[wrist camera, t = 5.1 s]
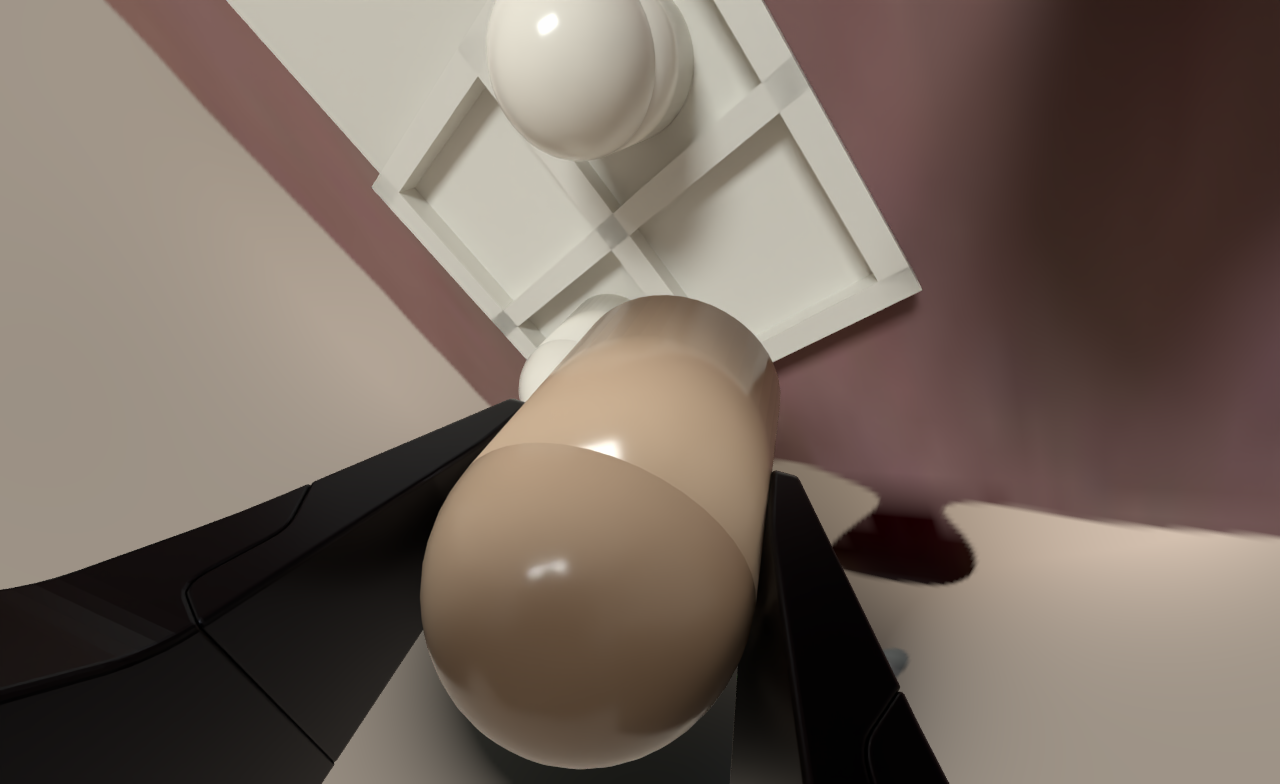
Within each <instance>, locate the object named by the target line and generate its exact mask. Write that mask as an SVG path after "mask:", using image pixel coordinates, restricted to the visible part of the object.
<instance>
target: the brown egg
mask: <svg viewBox="0 0 1280 784" xmlns="http://www.w3.org/2000/svg"><path fill="white" fill-rule="evenodd" d="M779 409H780V386H779V379H778V376H777V373H776V369H775V366H774V364H773V362H772V360H771V358H770V356H769V354H768V352H767V351H766V349H765V348H764V347H763V345H762V344H761V342H760V341H759V340H758V339H757V338H756V336H755V335H754V334H753V333H752V332H751V331H750V330H749V329H748V328H747V327H745V326H744V325H743V324H742V323H741V322H740V321H738V320H737V319H735V318H734V317H732V316H731V315H729V314H728V313H726V312H724V311H722V310H721V309H719V308H717V307H715V306H713V305H710V304H707V303H704V302H702V301H699V300H695V299H691V298H687V297H682V296H672V295H652V296H646V297H640V298H636V299H633V300H630V301H627V302H624V303H622V304H620V305H618V306H616V307H614V308H613V309H611V310H610V311H608V312H607V313H605V314H604V315H603V316H602V317H601V318H600V319H599V320H598V321H597V322H596V323H595V324H594V325H593V326H592V327H591V328H590V329H589V331H588V332H587V333H586V334H585V335H584V336H583V337H582V339H581V340H580V341H579V342H578V343H577V344H576V345H575V346H574V348H573V349H572V350H571V351H570V352H569V353H568V354H567V356H566V357H565V358H564V359H563V360H562V361H561V362H560V364H559V365H558V366H557V367H556V368H555V369H554V370H553V371H552V373H551V374H550V375H549V376H548V377H547V378H546V379H545V381H544V382H543V383H542V384H541V385H540V386H539V387H538V388H537V390H536V391H535V392H534V393H533V394H532V395H531V396H530V398H529V399H528V400H527V401H526V402H525V403H524V404H523V406H522V407H521V408H520V409H519V410H518V411H517V412H516V413H515V415H514V416H513V417H512V418H511V419H510V420H509V421H508V423H507V424H506V425H505V426H504V427H503V428H502V429H501V430H500V432H499V433H498V434H497V435H496V436H495V437H494V438H493V440H492V441H491V442H490V443H489V444H488V445H487V446H486V448H485V449H484V450H483V451H482V452H481V453H480V454H479V455H478V457H477V458H476V459H475V460H474V461H473V462H472V463H471V465H470V466H469V467H468V468H467V469H466V471H465V472H464V473H463V475H462V476H461V477H460V479H459V480H458V481H457V483H456V484H455V485H454V487H453V488H452V490H451V491H450V492H449V494H448V496H447V498H446V500H445V502H444V503H443V505H442V507H441V509H440V511H439V513H438V516H437V518H436V521H435V523H434V526H433V529H432V531H431V534H430V537H429V539H428V542H427V547H426V551H425V556H424V560H423V565H422V576H421V589H420V604H421V618H422V625H423V630H424V635H425V639H426V644H427V648H428V652H429V654H430V657H431V659H432V662H433V664H434V667H435V669H436V671H437V674H438V677H439V679H440V681H441V683H442V684H443V686H444V687H445V689H446V690H447V692H448V694H449V695H450V697H451V699H452V700H453V702H454V704H455V705H456V706H457V707H458V709H459V710H460V711H461V712H462V713H463V714H464V715H465V716H466V717H467V718H468V719H469V721H470V722H471V723H472V724H473V725H474V726H475V727H476V728H477V729H478V730H479V731H480V732H482V733H483V734H484V735H485V736H487V737H488V738H489V739H491V740H493V741H494V742H495V743H497V744H498V745H500V746H502V747H504V748H505V749H507V750H509V751H511V752H513V753H515V754H517V755H519V756H521V757H524V758H526V759H528V760H531V761H534V762H537V763H540V764H544V765H549V766H556V767H563V768H571V769H588V768H602V767H611V766H614V765H618V764H621V763H625V762H629V761H633V760H636V759H639V758H641V757H644V756H646V755H648V754H650V753H652V752H654V751H656V750H658V749H661V748H662V747H664V746H666V745H667V744H669V743H670V742H672V741H673V740H675V739H676V738H677V737H679V736H680V735H682V734H683V733H684V732H686V731H688V729H690V728H691V726H693V725H694V724H695V723H696V722H697V721H698V720H699V719H700V718H701V717H702V716H703V715H704V714H705V713H706V712H707V711H708V710H709V709H710V708H711V706H712V705H713V704H714V702H715V701H716V700H717V699H718V697H719V696H720V695H721V693H722V692H723V691H724V689H725V688H726V686H727V684H728V682H729V681H730V679H731V677H732V675H733V673H734V671H735V669H736V668H737V666H738V664H739V662H740V660H741V658H742V655H743V652H744V649H745V647H746V644H747V641H748V638H749V635H750V630H751V625H752V620H753V615H754V610H755V605H756V598H757V590H758V582H759V573H760V565H761V557H762V548H763V538H764V529H765V520H766V512H767V504H768V496H769V488H770V480H771V473H772V466H773V458H774V450H775V442H776V434H777V425H778V417H779Z"/></svg>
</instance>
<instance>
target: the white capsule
mask: <svg viewBox="0 0 1280 784" xmlns="http://www.w3.org/2000/svg"><path fill="white" fill-rule="evenodd" d="M627 301H630V299H628V298H626V297H623V296H619V295H615V294H600V295H596V296H593V297H591V298H589V299H587V300H585V301H584V302H583V303H582V304H581V305H580V306H579V307H578V308H577V309H576V310H575V311H574V312H573V313H572V314H571V315H570V316H569V317H568V318H567V319H566V320H565V321H564V322H563V323H562V324H561V325H560V326H559V327H558V328H557V329H556V330H555V331H554V332H553V333H551V334H550V335H549V336H548V337H547V338H546V339H545V340H544V341H543V342H542V343H541V344H540V345H539V346H538V347H537V348H536V349H535V350H534V351H533V353H532V354H531V355H530V356H529V358H528V359H527V361H526V363H525V364H524V367H523V369H522V372H521V376H520V380H519V398H520V401H523V402H526V401H527V400H528V399H529V398H530V396H531V395H532V394H533V393H534V392H535V391H536V390H537V388H538V387H539V386H540V385H541V384H542V383H543V382H544V381H545V379H546V378H547V377H548V376H549V375H550V374H551V373H552V371H553V370H554V369H555V368H556V367H557V366H558V365H559V364H560V362H561V361H562V360H563V359H564V358H565V357H566V356H567V354H568V353H569V352H570V351H571V350H572V349H573V348H574V346H575V345H576V344H577V343H578V342H579V341H580V340H581V339H582V337H583V336H584V335H585V334H586V333H587V332H588V331H589V329H590V328H591V327H592V326H593V325H594V324H595V323H596V322H597V321H598V320H599V319H600V318H601V317H602V316H603V315H604V314H605V313H607V312H608V311H610V310H611V309H613V308H614V307H616V306H618V305H620V304H622V303H624V302H627Z"/></svg>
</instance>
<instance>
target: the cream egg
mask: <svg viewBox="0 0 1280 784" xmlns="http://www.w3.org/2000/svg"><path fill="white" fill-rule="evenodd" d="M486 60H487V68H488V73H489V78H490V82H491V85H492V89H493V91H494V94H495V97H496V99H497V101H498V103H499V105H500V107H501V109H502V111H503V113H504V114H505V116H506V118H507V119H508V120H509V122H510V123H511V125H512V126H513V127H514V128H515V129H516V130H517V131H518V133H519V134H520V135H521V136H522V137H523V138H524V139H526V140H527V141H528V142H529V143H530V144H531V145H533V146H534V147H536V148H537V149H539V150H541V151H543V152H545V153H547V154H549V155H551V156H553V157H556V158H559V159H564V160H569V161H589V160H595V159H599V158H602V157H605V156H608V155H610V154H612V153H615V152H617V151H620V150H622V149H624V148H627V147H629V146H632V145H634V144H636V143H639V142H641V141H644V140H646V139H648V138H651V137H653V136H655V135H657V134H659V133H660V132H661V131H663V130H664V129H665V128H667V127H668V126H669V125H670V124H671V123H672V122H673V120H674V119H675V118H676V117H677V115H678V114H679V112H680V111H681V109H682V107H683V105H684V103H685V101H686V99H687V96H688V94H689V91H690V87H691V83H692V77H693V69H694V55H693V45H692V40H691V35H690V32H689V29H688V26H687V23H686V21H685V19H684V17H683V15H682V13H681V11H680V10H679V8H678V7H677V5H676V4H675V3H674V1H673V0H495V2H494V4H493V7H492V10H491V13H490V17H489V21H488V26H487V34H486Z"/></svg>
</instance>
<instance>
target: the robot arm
mask: <svg viewBox="0 0 1280 784" xmlns="http://www.w3.org/2000/svg"><path fill="white" fill-rule="evenodd" d="M524 403H525V402H523V401H519V400H516V399H509V400H506V401H504V402H501V403H499V404H496V405H494V406H492V407H489V408H487V409H485V410H482V411H480V412H478V413H475V414H473V415H470V416H468V417H466V418H464V419H461V420H459V421H456V422H454V423H452V424H449V425H447V426H445V427H442V428H440V429H437V430H435V431H433V432H430V433H428V434H426V435H424V436H421V437H418V438H416V439H414V440H411V441H410V442H407V443H404V444H402V445H400V446H397V447H395V448H393V449H390V450H388V451H385V452H383V453H381V454H378V455H376V456H374V457H371V458H369V459H367V460H364V461H362V462H360V463H357V464H355V465H352V466H350V467H347V468H345V469H343V470H341V471H338V472H336V473H333V474H331V475H329V476H326V477H324V478H321V479H319V480H317V481H315V482H313V483H312V485H305V486H303V487H300V488H298V489H295V490H293V491H290V492H288V493H286V494H284V495H281V496H278V497H276V498H274V499H271V500H269V501H266V502H264V503H261V504H259V505H256V506H254V507H251V508H249V509H246V510H244V511H242V512H239V513H236V514H233V515H231V516H228V517H225V518H223V519H220V520H218V521H215V522H212V523H209V524H207V525H204V526H201V527H199V528H196V529H193V530H190V531H188V532H185V533H182V534H179V535H176V536H173V537H171V538H168V539H165V540H162V541H160V542H157V543H154V544H151V545H148V546H145V547H143V548H140V549H137V550H134V551H132V552H129V553H126V554H123V555H120V556H117V557H115V558H112V559H109V560H106V561H103V562H101V563H98V564H95V565H92V566H89V567H87V568H84V569H81V570H78V571H75V572H72V573H69V574H66V575H63V576H60V577H56V578H53V579H49V580H46V581H42V582H38V583H34V584H29V585H24V586H20V587H15V588H9V589H3V590H0V784H322V782H323V781H324V779H325V778H326V776H327V775H328V773H329V772H330V770H331V769H332V767H333V766H334V762H335V761H336V760H337V759H338V758H339V756H340V755H341V753H342V752H343V750H344V749H345V747H346V746H347V744H348V743H349V741H350V739H351V738H352V736H353V735H354V733H355V732H356V730H357V729H358V727H359V726H360V724H361V723H362V721H363V720H364V718H365V717H366V715H367V714H368V712H369V710H370V709H371V708H372V706H373V705H374V703H375V702H376V700H377V699H378V697H379V695H380V694H381V692H382V691H383V690H384V688H385V687H386V685H387V684H388V682H389V680H390V679H391V677H392V676H393V674H394V673H395V671H396V670H397V668H398V667H399V665H400V664H401V662H402V661H403V659H404V658H405V656H406V654H407V653H408V652H409V650H410V649H411V647H412V646H413V644H414V643H415V641H416V640H417V638H418V637H419V635H420V634H421V632H422V630H423V625H422V618H421V604H420V589H421V576H422V565H423V560H424V556H425V551H426V547H427V542H428V539H429V537H430V534H431V531H432V529H433V526H434V523H435V521H436V518H437V516H438V513H439V511H440V509H441V507H442V505H443V503H444V502H445V500H446V498H447V496H448V494H449V492H450V491H451V490H452V488H453V487H454V485H455V484H456V483H457V481H458V480H459V479H460V477H461V476H462V475H463V473H464V472H465V471H466V469H467V468H468V467H469V466H470V465H471V463H472V462H473V461H474V460H475V459H476V458H477V457H478V455H479V454H480V453H481V452H482V451H483V450H484V449H485V448H486V446H487V445H488V444H489V443H490V442H491V441H492V440H493V438H494V437H495V436H496V435H497V434H498V433H499V432H500V430H501V429H502V428H503V427H504V426H505V425H506V424H507V423H508V421H509V420H510V419H511V418H512V417H513V416H514V415H515V413H516V412H517V411H518V410H519V409H520V408H521V407H522V406H523V404H524ZM899 689H900V685H899V683H898V681H897V679H896V677H895V675H894V673H893V671H892V669H891V667H890V665H889V663H888V660H887V658H886V656H885V654H884V652H883V650H882V648H881V646H880V644H879V642H878V640H877V638H876V636H875V634H874V632H873V630H872V628H871V626H870V624H869V622H868V620H867V617H866V615H865V613H864V611H863V609H862V607H861V605H860V603H859V601H858V599H857V597H856V595H855V593H854V591H853V589H852V587H851V585H850V583H849V580H848V578H847V577H846V574H845V572H844V570H843V568H842V566H841V564H840V562H839V560H838V558H837V556H836V554H835V552H834V550H833V548H832V546H831V544H830V541H829V539H828V537H827V535H826V533H825V532H824V529H823V527H822V525H821V523H820V521H819V519H818V517H817V515H816V513H815V511H814V509H813V507H812V505H811V503H810V501H809V499H808V496H807V494H806V492H805V490H804V488H803V486H802V484H801V482H800V480H799V479H798V477H796V476H794V475H790V474H787V473H784V472H780V471H773V472H772V473H771V480H770V488H769V496H768V504H767V512H766V520H765V529H764V538H763V548H762V557H761V565H760V573H759V582H758V590H757V598H756V605H755V610H754V615H753V620H752V625H751V630H750V635H749V638H748V641H747V644H746V647H745V649H744V652H743V655H742V658H741V660H740V662H739V664H738V668H737V685H736V699H735V715H734V731H733V747H732V761H731V777H730V784H949V782H948V780H947V778H946V776H945V775H944V773H943V771H942V769H941V767H940V765H939V763H938V761H937V759H936V757H935V755H934V753H933V751H932V749H931V747H930V745H929V744H928V741H927V739H926V738H925V736H924V734H923V732H922V730H921V728H920V726H919V724H918V722H917V720H916V718H915V716H914V714H913V712H912V709H911V707H910V705H909V703H908V701H907V699H906V697H905V695H904V694H903V693H902V692H898V691H899Z"/></svg>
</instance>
